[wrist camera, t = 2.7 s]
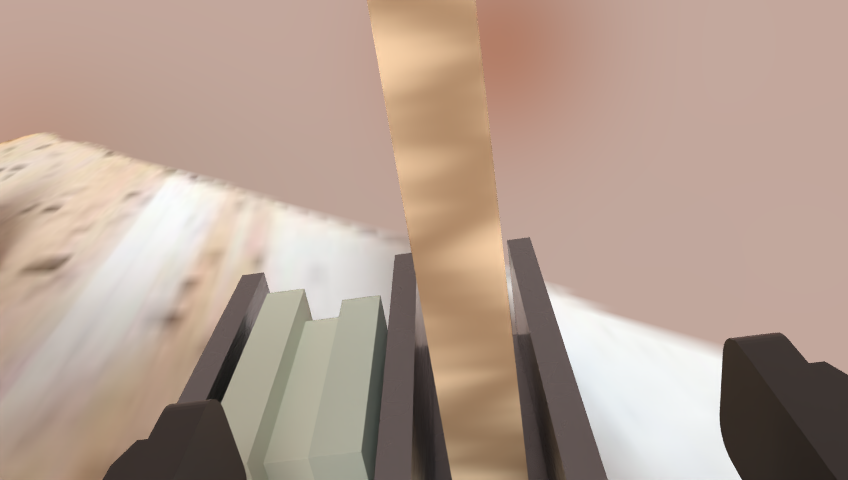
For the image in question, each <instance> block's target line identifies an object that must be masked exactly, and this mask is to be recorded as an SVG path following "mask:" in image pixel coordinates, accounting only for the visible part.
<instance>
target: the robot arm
mask: <svg viewBox="0 0 848 480" xmlns="http://www.w3.org/2000/svg"><path fill="white" fill-rule="evenodd" d="M720 427H721V433H722V437H723V441H724V445H725V448H726V450H727V453H728V455H729V457H730V459H731V461H732V463H733V465H734V466H735V468H736V470H737V472H738V474H739V475H740V477H741V479H742V480H848V375H847V374H845V373H843V372H842V371H840V370H838V369H836V368H835V367H833V366H832V365H830V364H828V363H826V362H816V363H808V362H807V361H806V360H805V358H804V357H803V356H802V355H801V354H800V353H799V351H798V350H797V349H796V348H795V347H794V346H793V344H792V343H791V342H790V341H789V340H788V339H787V337H786V336H784V335H783V334H781V333H770V334H761V335H753V336H745V337H737V338H729V339H727V340H726V341H725V344H724V348H723V361H722V380H721V399H720ZM103 480H247V477H246V472H245V468H244V465H243V462H242V459H241V456H240V454H239V451H238V448H237V445H236V442H235V440H234V437H233V434H232V431H231V428H230V426H229V423H228V420H227V417H226V414H225V412H224V409H223V407H222V405H221V403H220V402H219V401H218V400H216V399H210V400H201V401H193V402H185V403H176V404H170V405H168V406H167V407H166V408H165V409H164V410H163V412H162V414H161V415H160V417H159V419H158V421H157V423H156V425H155V427H154V429H153V430H152V432H151V434H150V436H149V438H148V439H144V440H137V441H136V442H135V443H134V444H133V445H132V446H131V447H130V448H129V449H128V450H127V451H126V452H124V453H123V454H122V455H121V456H120V457H119V458H118V459H117V460H116V461H115V462H114V463H113V464H112V465H111V466H110V468H109V470H108V471H107V473H106V475H105V477H104V478H103Z"/></svg>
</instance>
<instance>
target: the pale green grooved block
mask: <svg viewBox="0 0 848 480" xmlns="http://www.w3.org/2000/svg"><path fill="white" fill-rule="evenodd" d="M387 336H388V330H387V325H386V321H385V316H384V311H383V306H382V301H381V297H380V295H378V296H370V297H363V298H355V299H347V300H342V305H341V309H340V314H339V317H337V318H329V319H321V320H312V316H311V312H310V309H309V305H308V301H307V297H306V293H305V290H304V289H298V290H290V291H283V292H275V293H267V296H266V298H265V300H264V303H263V305H262V307H261V310H260V312H259V315H258V317H257V319H256V322H255V324H254V326H253V329H252V331H251V333H250V336H249V338H248V341H247V343H246V345H245V348H244V350H243V352H242V355H241V357H240V360H239V362H238V364H237V367H236V369H235V371H234V374H233V376H232V379H231V381H230V383H229V386H228V388H227V390H226V393H225V395H224V397H223V400H222V402H221V405H222V407H223V409H224V412H225V414H226V417H227V420H228V423H229V426H230V428H231V431H232V434H233V437H234V440H235V442H236V445H237V448H238V451H239V454H240V456H241V459H242V462H243V465H244V468H245V472H246V477H247V480H374V476H375V465H376V455H377V444H378V433H379V422H380V411H381V401H382V390H383V379H384V368H385V358H386V347H387Z"/></svg>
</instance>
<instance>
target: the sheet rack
mask: <svg viewBox="0 0 848 480" xmlns="http://www.w3.org/2000/svg"><path fill="white" fill-rule="evenodd" d="M507 245H508V254H509V264H510V273H511V282H512V292H513V301H514V310H515V320H516V329H517V335H512V336H513V345H514V354H515V363H516V372H517V382H518V391H519V400H520V409H521V418H522V427H523V436H524V445H525V454H526V463H527V472H528V480H608V479H607V476H606V473H605V470H604V467H603V464H602V461H601V458H600V455H599V451H598V448H597V445H596V442H595V439H594V436H593V433H592V430H591V426H590V423H589V420H588V417H587V414H586V411H585V408H584V405H583V402H582V398H581V395H580V392H579V389H578V386H577V383H576V380H575V377H574V374H573V370H572V367H571V364H570V361H569V358H568V355H567V352H566V349H565V346H564V342H563V339H562V336H561V333H560V330H559V327H558V324H557V321H556V318H555V314H554V311H553V308H552V305H551V302H550V299H549V296H548V293H547V290H546V286H545V283H544V280H543V277H542V274H541V271H540V268H539V265H538V262H537V258H536V255H535V253H534V250H533V246H532V243H531V240H530V238H522V239H514V240H508V241H507ZM267 293H270V292H269V288H268V285H267V281H266V278H265V274H264V273H257V274H250V275H242V277H241V279H240V281H239V283H238V285H237V287H236V289H235V291H234V293H233V295H232V297H231V299H230V301H229V303H228V305H227V307H226V309H225V310H224V312H223V314H222V316H221V318H220V320H219V322H218V324H217V326H216V328H215V330H214V332H213V334H212V336H211V338H210V340H209V342H208V344H207V346H206V348H205V350H204V351H203V353H202V355H201V357H200V359H199V361H198V363H197V365H196V367H195V369H194V371H193V373H192V375H191V377H190V379H189V381H188V383H187V385H186V387H185V389H184V391H183V392H182V394H181V396H180V398H179V400H178V402H177V403H185V402H193V401H201V400H210V399H216V400H218V401H219V402H220V403H221V402H222V400H223V397H224V395H225V393H226V390H227V388H228V386H229V383H230V381H231V379H232V376H233V374H234V371H235V369H236V367H237V364H238V362H239V360H240V357H241V355H242V352H243V350H244V348H245V345H246V343H247V341H248V338H249V336H250V333H251V331H252V329H253V326H254V324H255V322H256V319H257V317H258V315H259V312H260V310H261V307H262V305H263V303H264V300H265V298H266V296H267ZM374 480H452V477H451V471H450V465H449V460H448V454H447V449H446V443H445V437H444V432H443V426H442V420H441V415H440V409H439V404H438V398H437V392H436V387H435V381H434V375H433V370H432V364H431V358H430V353H429V347H428V342H427V336H426V330H425V325H424V319H423V313H422V308H421V302H420V296H419V291H418V285H417V280H416V274H415V268H414V263H413V257H412V253H408V254H401V255H395V261H394V272H393V282H392V293H391V304H390V315H389V325H388V336H387V347H386V358H385V368H384V379H383V390H382V401H381V411H380V422H379V433H378V444H377V455H376V465H375V476H374Z"/></svg>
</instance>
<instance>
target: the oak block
mask: <svg viewBox="0 0 848 480" xmlns="http://www.w3.org/2000/svg"><path fill="white" fill-rule="evenodd" d="M367 3H368V9H369V15H370V20H371V26H372V31H373V37H374V43H375V49H376V54H377V60H378V65H379V71H380V76H381V82H382V88H383V93H384V99H385V105H386V110H387V116H388V122H389V127H390V133H391V139H392V144H393V150H394V155H395V161H396V167H397V172H398V178H399V183H400V189H401V195H402V201H403V206H404V212H405V218H406V223H407V229H408V234H409V240H410V246H411V251H412V257H413V263H414V268H415V274H416V280H417V285H418V291H419V296H420V302H421V308H422V313H423V319H424V325H425V330H426V336H427V342H428V347H429V353H430V358H431V364H432V370H433V375H434V381H435V387H436V392H437V398H438V404H439V409H440V415H441V420H442V426H443V432H444V437H445V443H446V449H447V454H448V460H449V465H450V471H451V477H452V480H528V472H527V463H526V454H525V445H524V436H523V427H522V418H521V409H520V400H519V391H518V382H517V372H516V363H515V354H514V345H513V336H512V327H511V318H510V309H509V300H508V291H507V282H506V273H505V264H504V255H503V246H502V237H501V227H500V218H499V210H498V200H497V191H496V182H495V174H494V164H493V155H492V146H491V137H490V128H489V119H488V110H487V102H486V92H485V83H484V74H483V64H482V56H481V47H480V38H479V29H478V19H477V10H476V1H475V0H367Z"/></svg>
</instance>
